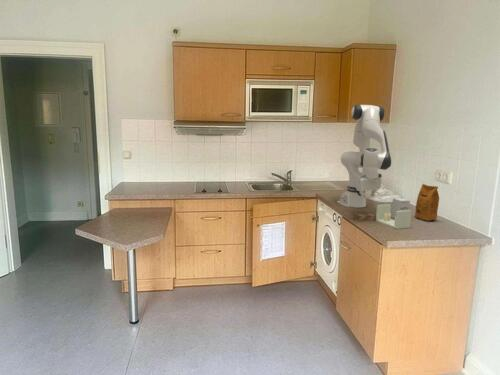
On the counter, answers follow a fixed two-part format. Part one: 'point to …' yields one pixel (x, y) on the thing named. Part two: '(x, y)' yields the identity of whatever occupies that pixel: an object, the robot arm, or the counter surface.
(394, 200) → the supplement box
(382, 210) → the pegged wall bracket
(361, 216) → the brown wooden block
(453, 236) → the counter surface
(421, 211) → the coffee package
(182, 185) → the counter surface
